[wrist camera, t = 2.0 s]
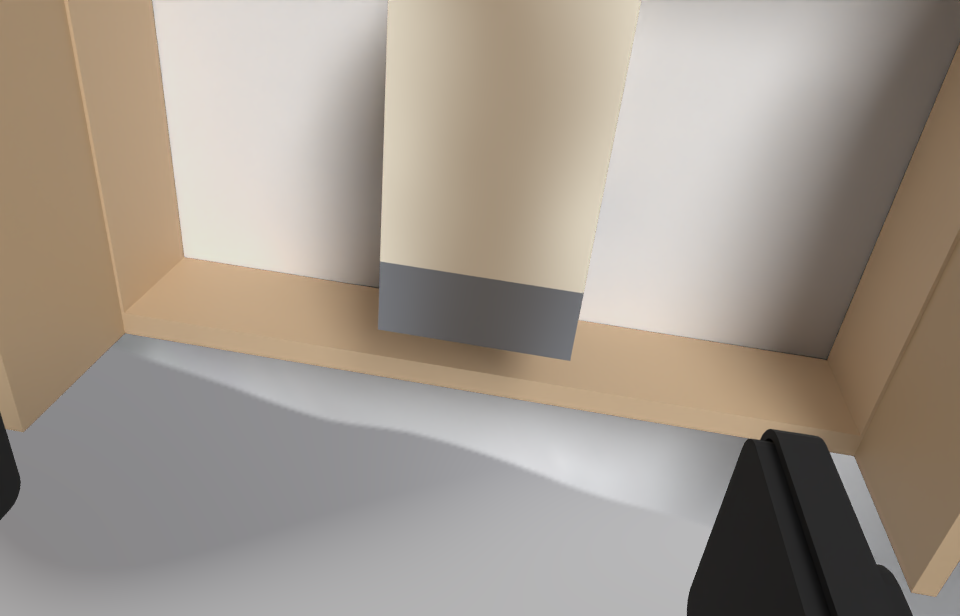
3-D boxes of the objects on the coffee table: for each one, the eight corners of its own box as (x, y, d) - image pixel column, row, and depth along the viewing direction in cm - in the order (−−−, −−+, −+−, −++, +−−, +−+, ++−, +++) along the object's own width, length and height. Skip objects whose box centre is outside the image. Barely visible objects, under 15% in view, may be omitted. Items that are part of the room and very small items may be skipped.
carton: (1091, -184, 17) (1471, -220, 10) (842, 382, 26) (940, 597, 18) (86, -289, 19) (-257, -389, 12) (165, 272, 28) (-1, 427, 20)
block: (634, -57, 20) (645, -23, 14) (578, 241, 25) (569, 360, 19) (452, -78, 21) (389, -54, 15) (431, 219, 25) (377, 329, 19)
